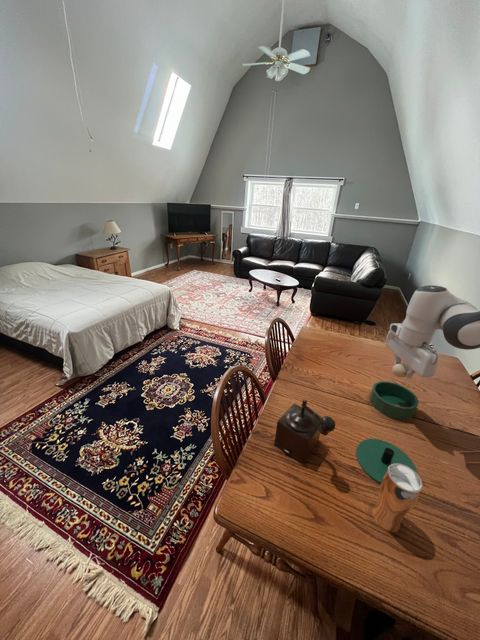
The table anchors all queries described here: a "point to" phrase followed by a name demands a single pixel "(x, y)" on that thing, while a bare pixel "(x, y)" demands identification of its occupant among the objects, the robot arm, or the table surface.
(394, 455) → the lid
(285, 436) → the manual coffee grinder
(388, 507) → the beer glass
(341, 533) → the table surface
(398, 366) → the egg
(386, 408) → the basin
